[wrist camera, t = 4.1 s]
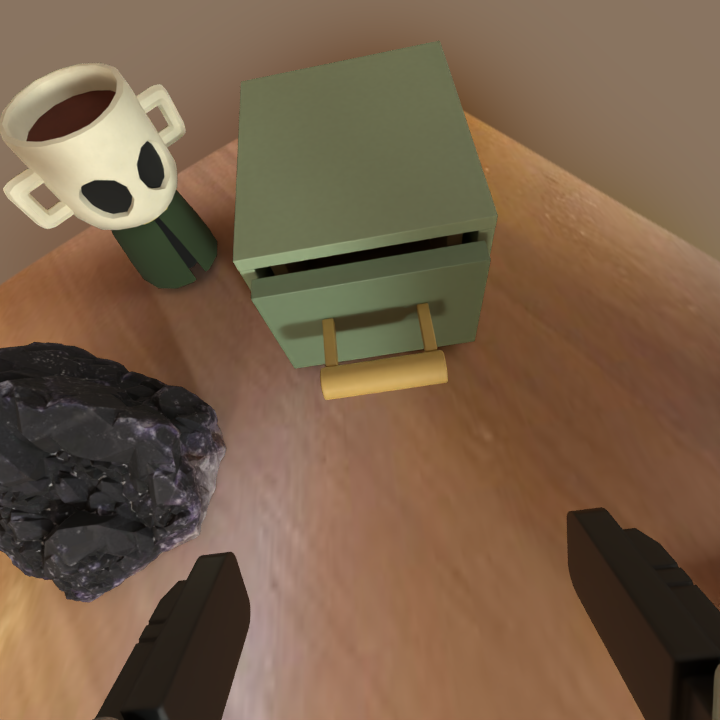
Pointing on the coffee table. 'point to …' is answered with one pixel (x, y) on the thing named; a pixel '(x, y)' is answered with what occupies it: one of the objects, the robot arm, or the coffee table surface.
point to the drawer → (376, 312)
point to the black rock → (98, 467)
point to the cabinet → (355, 161)
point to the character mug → (107, 167)
